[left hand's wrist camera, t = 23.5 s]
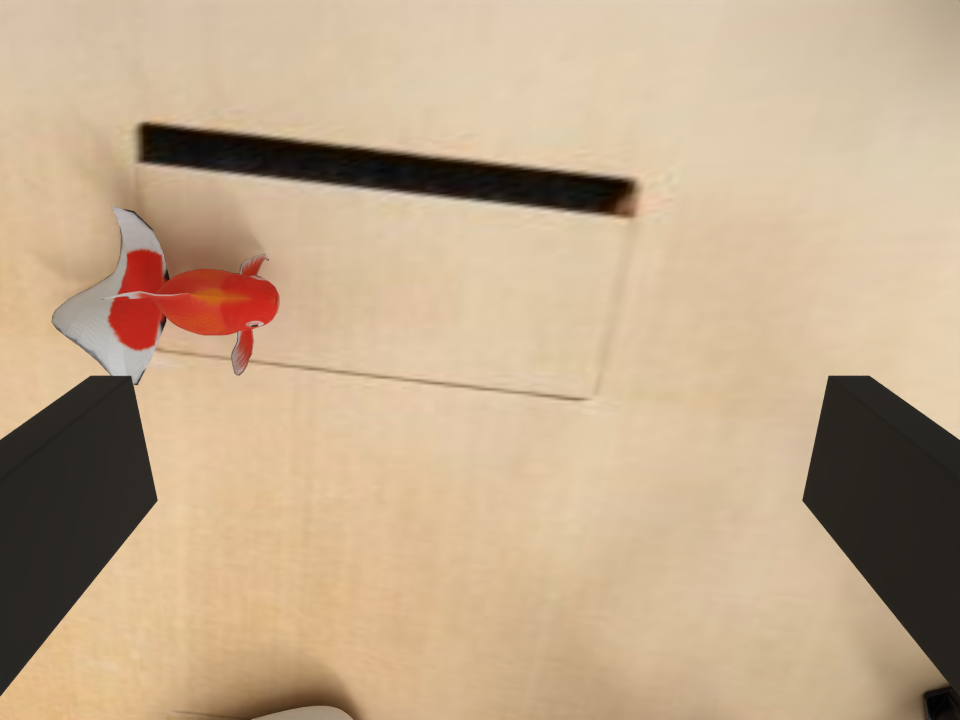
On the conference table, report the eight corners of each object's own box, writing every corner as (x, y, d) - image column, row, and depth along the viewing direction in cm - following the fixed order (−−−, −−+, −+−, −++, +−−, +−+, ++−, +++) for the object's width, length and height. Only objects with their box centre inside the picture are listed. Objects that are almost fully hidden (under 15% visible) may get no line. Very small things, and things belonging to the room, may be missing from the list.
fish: (283, 431, 44) (167, 435, 35) (118, 357, 49) (-22, 344, 40) (334, 277, 44) (231, 239, 34) (162, 220, 49) (31, 173, 39)
